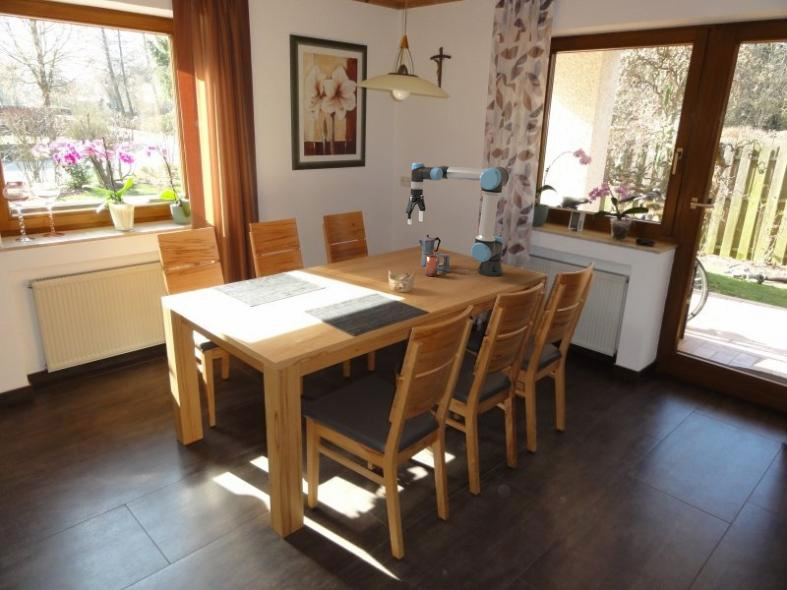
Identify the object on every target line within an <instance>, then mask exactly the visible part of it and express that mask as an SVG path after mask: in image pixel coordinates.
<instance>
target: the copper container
mask: <svg viewBox="0 0 787 590" xmlns="http://www.w3.org/2000/svg"><path fill="white" fill-rule="evenodd" d="M443 264H444V261H443V262H439V264H438V256H436V254H435V253H433V255H429V254H428V255H427V256H426V267H425V276H428V277H436V276H437V275H438V272H437V268H440V267H443Z"/></svg>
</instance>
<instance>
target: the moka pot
mask: <svg viewBox="0 0 787 590" xmlns="http://www.w3.org/2000/svg"><path fill="white" fill-rule="evenodd" d="M429 236H430V234H426V237H421V238H419V239H418V240H417V242H419V244H420V247H421V260H420V266H422V267H423V268H424V267H425V268H426V256H427V255H428V254H429V255H433V254H434V253H438V252H439V251H438V250H439V247H440V244H441V242H442V240H441V239H440V237H439V236H437V237H429ZM435 241H438V243H437V246H436V249H435Z"/></svg>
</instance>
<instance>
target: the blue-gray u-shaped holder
mask: <svg viewBox="0 0 787 590" xmlns="http://www.w3.org/2000/svg"><path fill="white" fill-rule="evenodd" d="M434 254H436V256H438V264H439V263H440V258H442V259H443V262H444V264H443V266H442V267H440V268H437V273H443V274H447V273H451V269H450V258H451V256H450V254H445V253H441V252H434Z"/></svg>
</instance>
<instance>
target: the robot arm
mask: <svg viewBox="0 0 787 590" xmlns="http://www.w3.org/2000/svg"><path fill="white" fill-rule="evenodd" d="M410 171H411V178H410V179H411V181H410V195H411V196H409V198H408V203H407V206H406V210H405V213H406V214H407V225H413V211H414V208H415V207H416V206H417V207H418V208H419V210H418V221H419V222H421V223H423V222H424V212H425V211H426V204H425V199H424V198H425V197H424V195H423V194H424V180H430V181H441V180H457V181H467V182H468V181H469V182H479V184H480V186H481V192H482V194H483V195H482V202H481V203H482V204H481V212H480V220H479V229H478V234H477V235H476V236H475V239H474V244H473V245H472V247H471V248H470V253H471V256H472V258H473V259H474V260H475V261H477V262H478V263H479V262H480V263H479V265H478V268H477V272H478V274H479V275H482V276H486V277H499V276H502V275H503V274H504V270H503V265H502V256H503V255H502V254H503V247H504V246H503V245H504V239H503V238H502V237H500V236H494V231H495V225H496V217H497V212H498V211H497V210H498V203H499V196H500V195H501V194H502V192H503V188H504V186H506V185H507V184H508V182H509V180H510V173H509V171H508V170H507V169H506V168H505V167H503V166H495V167H491V166H490V167H488V168H479V167H478V168H475V167H459V166H447V165H440V166H425V163H424V162H413V163H411V170H410Z"/></svg>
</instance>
